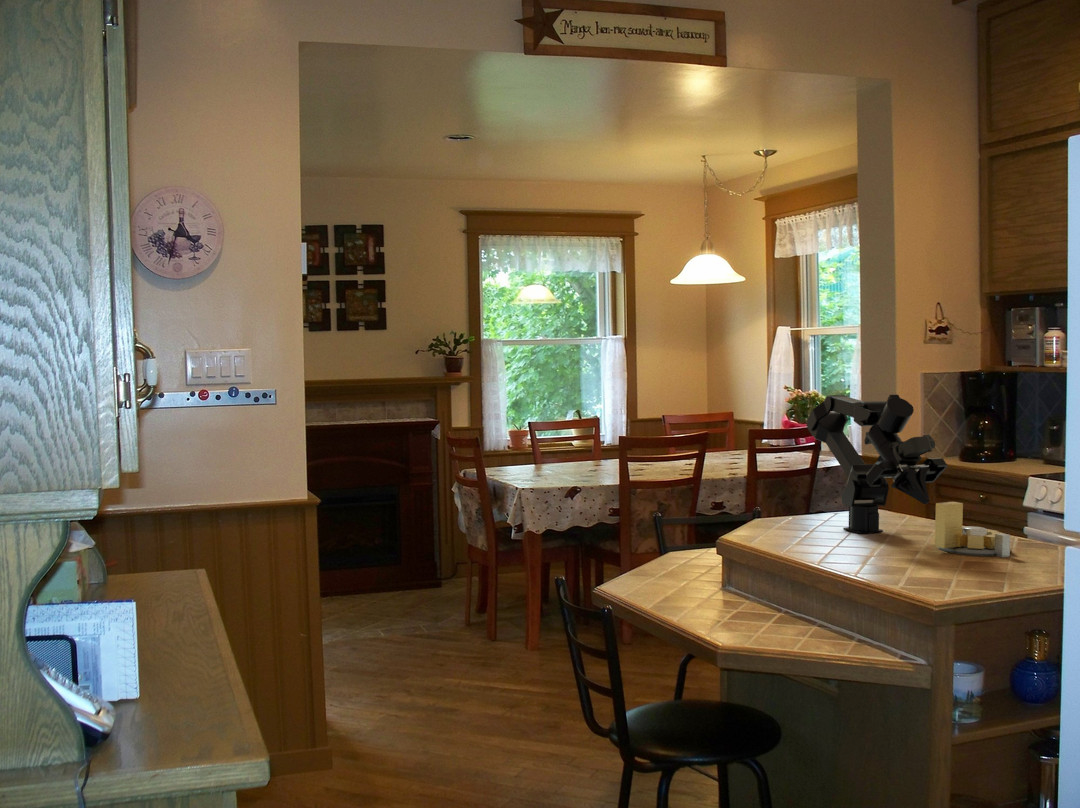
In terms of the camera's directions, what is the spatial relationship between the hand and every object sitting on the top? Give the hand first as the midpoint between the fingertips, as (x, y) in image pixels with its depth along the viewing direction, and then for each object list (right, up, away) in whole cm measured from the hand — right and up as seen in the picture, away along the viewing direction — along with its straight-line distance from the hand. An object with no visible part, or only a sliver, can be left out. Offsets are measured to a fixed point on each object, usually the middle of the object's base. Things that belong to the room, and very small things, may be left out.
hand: (927, 502), depth 218 cm
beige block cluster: (+7, -8, -2) cm, 11 cm away
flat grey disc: (+9, -10, -1) cm, 14 cm away
